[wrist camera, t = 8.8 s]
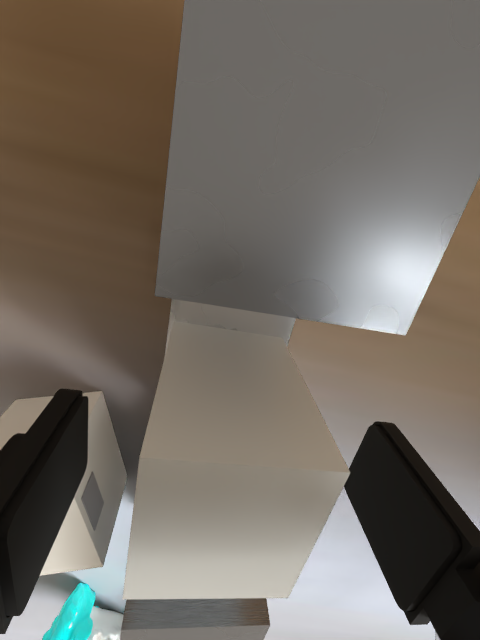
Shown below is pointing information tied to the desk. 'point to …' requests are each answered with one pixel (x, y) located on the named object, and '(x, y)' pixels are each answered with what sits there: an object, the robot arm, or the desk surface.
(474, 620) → the robot arm
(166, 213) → the rail
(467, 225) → the desk surface
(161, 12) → the desk surface
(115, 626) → the jawbone
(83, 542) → the block
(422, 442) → the desk surface
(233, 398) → the block
